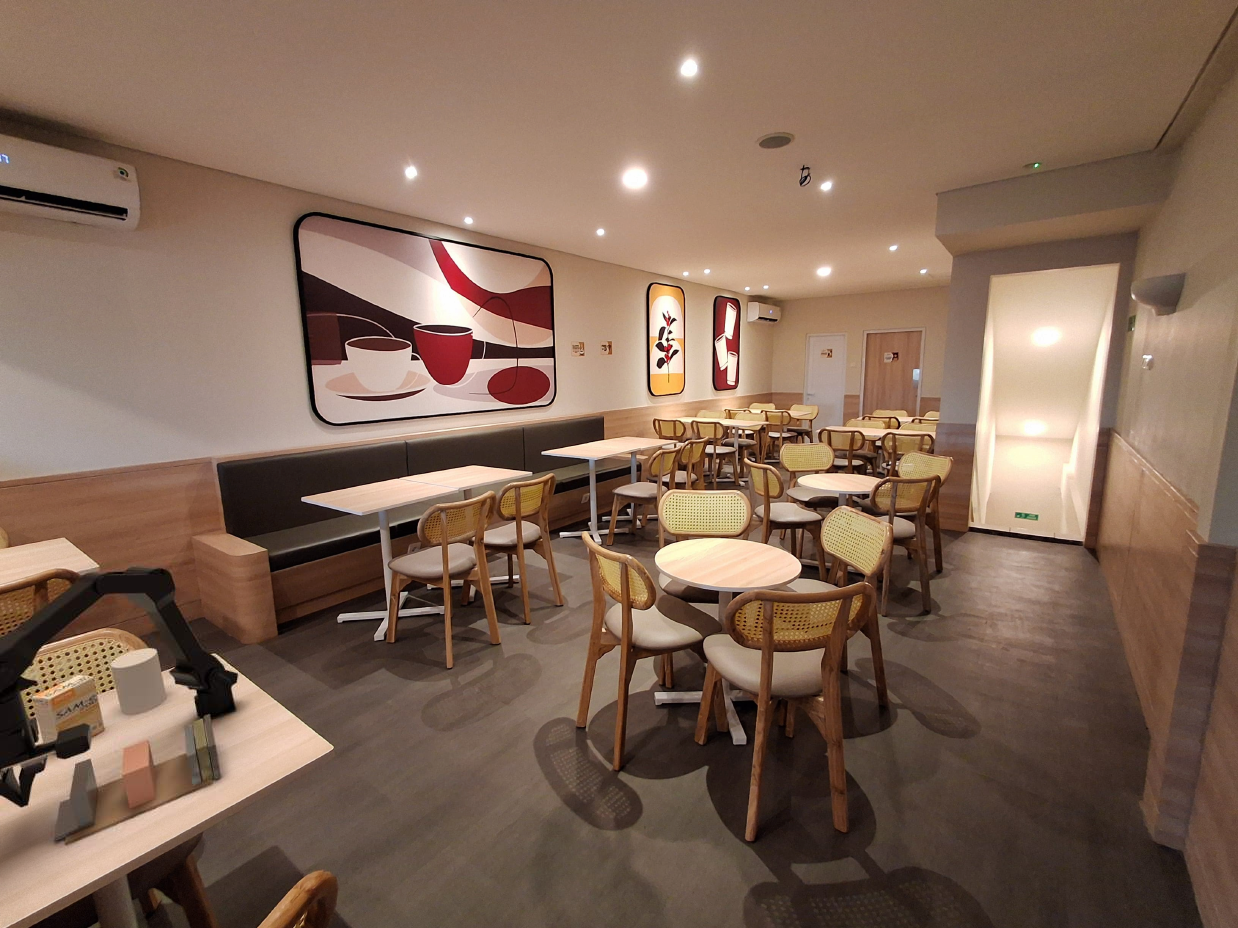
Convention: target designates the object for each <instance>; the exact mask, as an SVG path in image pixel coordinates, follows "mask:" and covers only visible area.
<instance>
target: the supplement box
mask: <svg viewBox="0 0 1238 928" xmlns="http://www.w3.org/2000/svg"><path fill="white" fill-rule="evenodd" d="M96 687H97V686H96V684H95V678H94V676H90V675H82V674H81V675H80V674H77V675H74V676H72V677H71V678H69V679H67V680H65V681H63V682H61V683H59V684H56V685H54V686H53V687H51V688H48V689H46V690H44V691H42V692H41V693H38V694H36V695H34V696H32V697H31V699H32V703H33V707H34V711H35V714H36V716H35V717H36V719H37V725H38V726H39V727H38V728H39V731H40V732H39V733H40V735H41V739H42V743H45V744H46V743H49V742H52V741H55V740H57V735H58V732H59V731H62V730H65V729H68V728H71V727H74V726H77V725H80V724H84V723H85V724H88V725H90V727H91V731H92V737H94V736H96V735H97V734H99V733H101V732H103V731H104V730H105V729H106V727H105V723H104V719H103V716H102V712H101V711H102V710H101V706H100V701H99V697H98V692H97V688H96ZM53 754H54V755H56V752H55V753H53Z"/></svg>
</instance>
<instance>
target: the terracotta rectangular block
mask: <svg viewBox="0 0 1238 928" xmlns="http://www.w3.org/2000/svg"><path fill="white" fill-rule="evenodd" d="M151 749H152V748H151V744H150V740H149V739H146V740H143V741H141V742H138V743H135V744H133V745H130V746H127V747H126V746H125V747H124V748H123V752H122V754H123V755H122V768H121V769H122V772H121V773H122V776H121V778H123V781H124V785H125V790H126V794H127V798H128V802H129V807H130V809H131V808H133V807H136V806H138V805H141V804H143V803H146V802H148V801H150V800H153V799H155V798H156V777H155V767H154V765H155V762H154V760H153V759H154V758H153V753H152V750H151Z"/></svg>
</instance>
